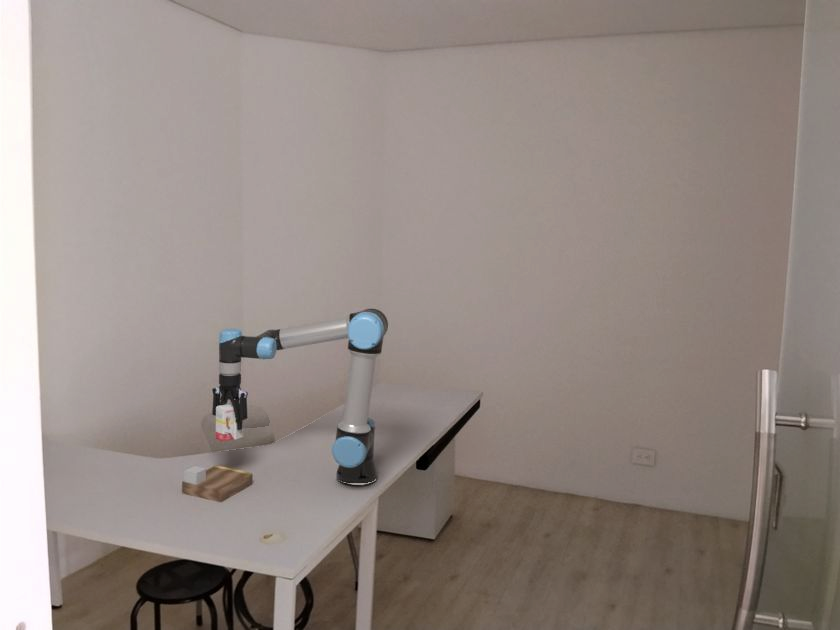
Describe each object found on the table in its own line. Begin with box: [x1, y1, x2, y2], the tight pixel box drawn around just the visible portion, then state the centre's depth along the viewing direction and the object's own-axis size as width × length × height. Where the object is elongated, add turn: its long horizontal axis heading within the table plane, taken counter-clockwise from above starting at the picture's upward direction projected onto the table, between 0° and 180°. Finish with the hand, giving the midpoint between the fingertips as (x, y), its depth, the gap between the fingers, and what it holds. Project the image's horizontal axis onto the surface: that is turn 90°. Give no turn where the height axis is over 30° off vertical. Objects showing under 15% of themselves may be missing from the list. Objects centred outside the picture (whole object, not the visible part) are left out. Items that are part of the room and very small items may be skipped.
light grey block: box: [183, 465, 207, 485], centre depth 247 cm, size 5×5×4 cm
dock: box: [181, 464, 254, 503], centre depth 251 cm, size 16×18×4 cm
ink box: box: [215, 402, 244, 443], centre depth 256 cm, size 9×5×12 cm, turn 140°
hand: (229, 436), depth 256 cm, fingers closed on ink box, 6 cm apart
